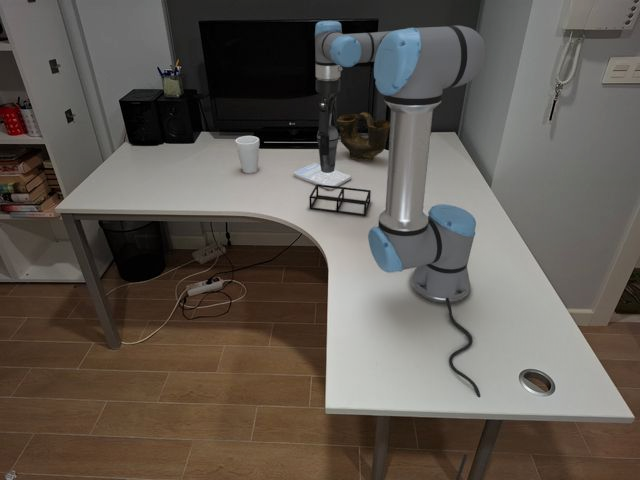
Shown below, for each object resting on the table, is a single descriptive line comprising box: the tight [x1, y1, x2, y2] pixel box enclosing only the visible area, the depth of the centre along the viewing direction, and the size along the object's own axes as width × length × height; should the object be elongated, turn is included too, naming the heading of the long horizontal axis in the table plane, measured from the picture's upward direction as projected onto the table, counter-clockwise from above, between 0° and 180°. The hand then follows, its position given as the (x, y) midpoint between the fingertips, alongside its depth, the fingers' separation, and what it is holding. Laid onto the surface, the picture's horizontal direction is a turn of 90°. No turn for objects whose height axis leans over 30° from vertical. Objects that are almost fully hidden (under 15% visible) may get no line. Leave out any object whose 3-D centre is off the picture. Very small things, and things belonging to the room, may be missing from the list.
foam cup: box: [234, 135, 260, 174], centre depth 181 cm, size 10×9×13 cm
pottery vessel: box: [337, 111, 390, 162], centre depth 190 cm, size 25×11×20 cm, turn 54°
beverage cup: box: [316, 113, 340, 173], centre depth 144 cm, size 7×7×20 cm
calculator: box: [293, 162, 352, 190], centre depth 178 cm, size 13×20×2 cm, turn 49°
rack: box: [308, 184, 372, 217], centre depth 157 cm, size 10×20×5 cm, turn 76°
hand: (327, 150), depth 146 cm, fingers closed on beverage cup, 7 cm apart
